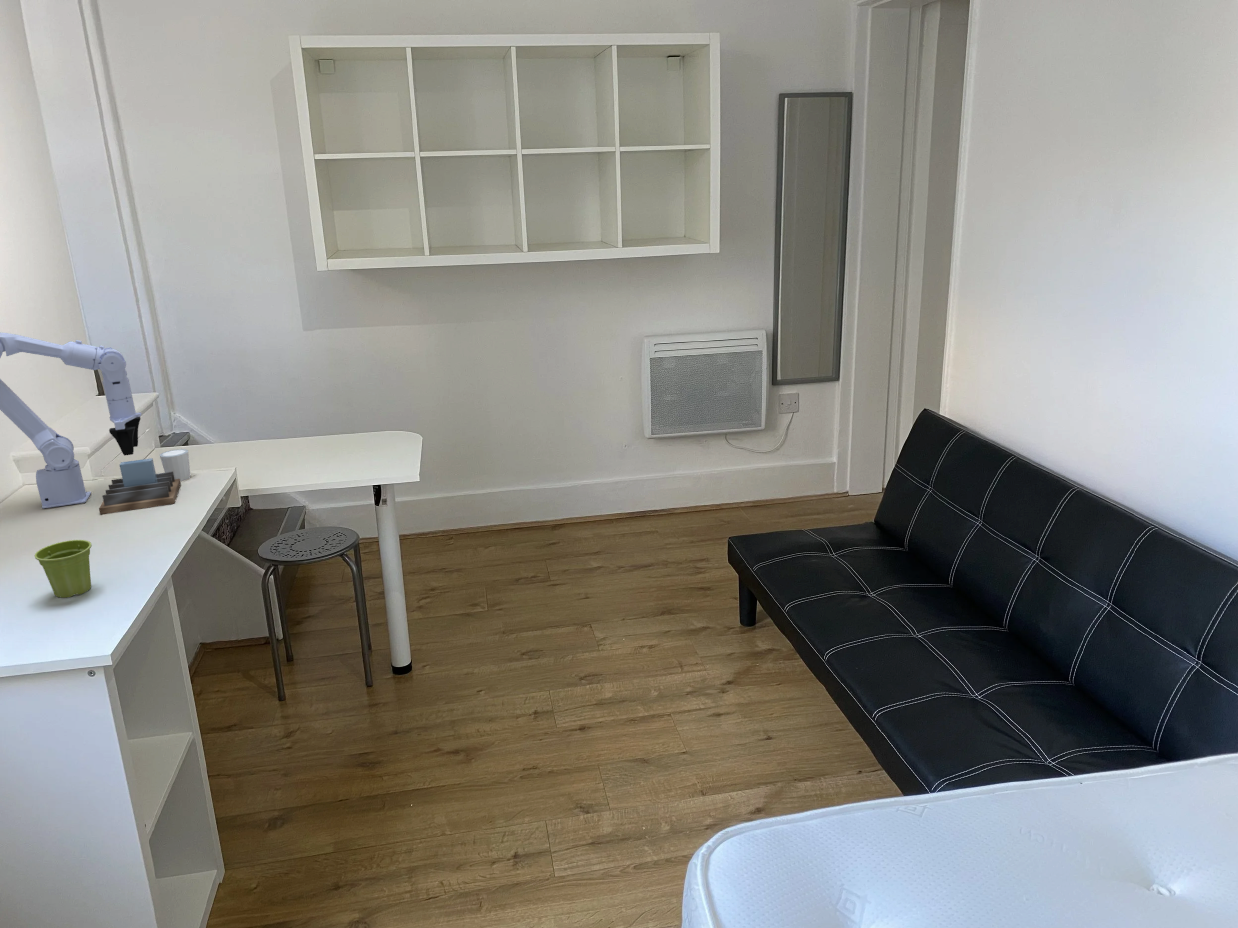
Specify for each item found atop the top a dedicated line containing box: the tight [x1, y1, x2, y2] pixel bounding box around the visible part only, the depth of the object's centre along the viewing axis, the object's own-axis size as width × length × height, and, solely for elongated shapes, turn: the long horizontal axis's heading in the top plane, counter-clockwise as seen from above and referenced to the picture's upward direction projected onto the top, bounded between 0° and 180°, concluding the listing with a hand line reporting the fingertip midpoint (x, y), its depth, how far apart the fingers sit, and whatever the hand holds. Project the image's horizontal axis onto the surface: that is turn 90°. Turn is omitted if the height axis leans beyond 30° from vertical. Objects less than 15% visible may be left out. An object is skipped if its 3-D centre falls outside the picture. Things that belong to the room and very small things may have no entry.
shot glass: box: [159, 448, 192, 482], centre depth 243 cm, size 7×7×7 cm
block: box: [119, 457, 158, 487], centre depth 228 cm, size 7×2×8 cm, turn 109°
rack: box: [98, 472, 182, 515], centre depth 229 cm, size 16×16×4 cm
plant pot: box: [34, 539, 93, 598], centre depth 177 cm, size 9×9×9 cm
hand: (130, 450), depth 235 cm, fingers open, 7 cm apart
